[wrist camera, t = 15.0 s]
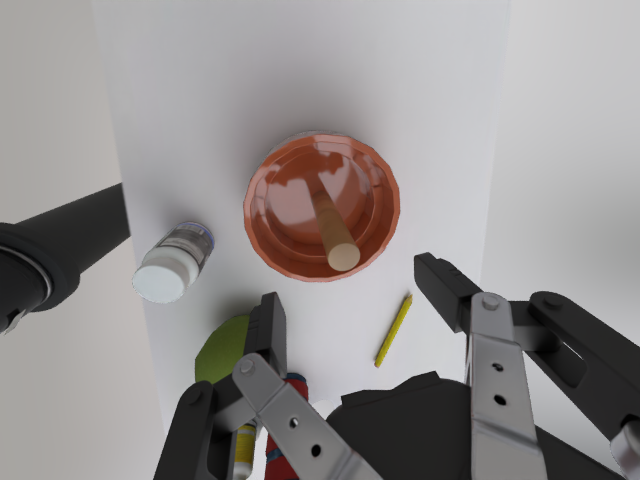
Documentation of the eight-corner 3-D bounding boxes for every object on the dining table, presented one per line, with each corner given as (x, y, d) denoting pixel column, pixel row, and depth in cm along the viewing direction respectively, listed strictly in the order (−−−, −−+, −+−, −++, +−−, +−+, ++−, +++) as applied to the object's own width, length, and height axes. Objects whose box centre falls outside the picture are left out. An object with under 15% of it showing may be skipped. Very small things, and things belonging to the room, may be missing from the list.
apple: (256, 284, 31) (244, 350, 22) (299, 328, 36) (303, 396, 27) (193, 321, 32) (158, 396, 24) (243, 358, 37) (229, 432, 28)
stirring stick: (313, 211, 26) (331, 274, 16) (309, 193, 25) (324, 247, 15) (332, 207, 26) (362, 266, 16) (328, 188, 25) (358, 239, 15)
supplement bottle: (226, 420, 45) (212, 492, 36) (255, 416, 45) (247, 486, 37) (231, 434, 47) (219, 504, 39) (258, 430, 48) (252, 498, 39)
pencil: (378, 362, 42) (380, 367, 41) (373, 362, 42) (375, 367, 41) (413, 291, 35) (417, 296, 34) (407, 291, 34) (411, 295, 34)
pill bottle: (193, 263, 28) (160, 315, 21) (161, 235, 26) (111, 281, 19) (224, 243, 27) (200, 290, 20) (193, 213, 25) (155, 252, 18)
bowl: (276, 264, 30) (273, 296, 24) (232, 150, 23) (215, 160, 18) (382, 237, 30) (403, 262, 24) (370, 114, 23) (395, 114, 18)
